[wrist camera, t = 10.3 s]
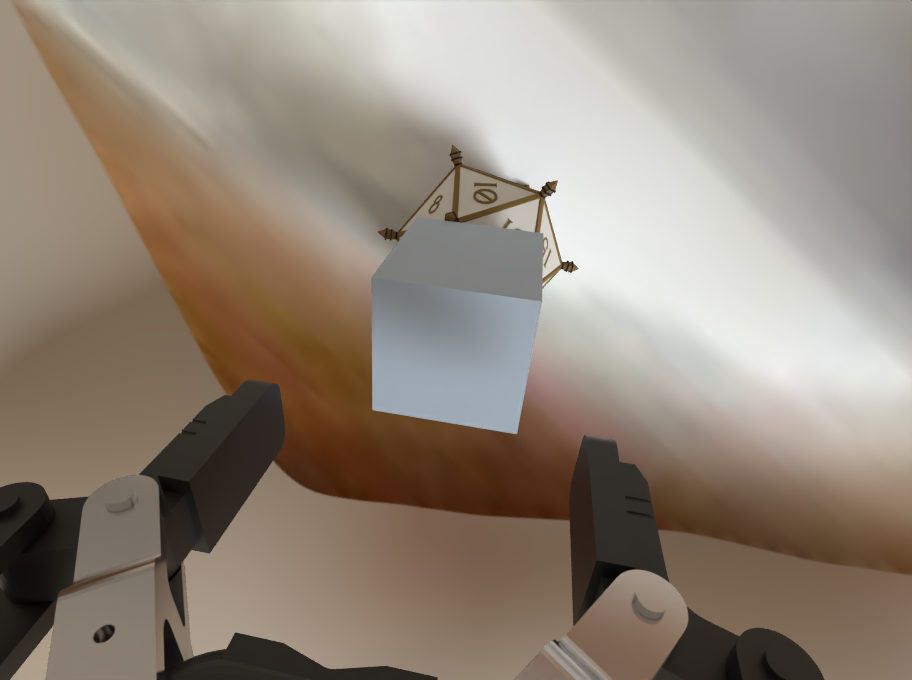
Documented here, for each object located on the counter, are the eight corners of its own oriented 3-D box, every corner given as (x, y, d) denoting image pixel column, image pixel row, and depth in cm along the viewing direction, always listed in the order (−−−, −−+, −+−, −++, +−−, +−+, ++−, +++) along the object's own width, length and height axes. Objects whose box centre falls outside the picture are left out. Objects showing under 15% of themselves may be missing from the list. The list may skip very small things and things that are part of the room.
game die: (484, 236, 32) (394, 357, 28) (434, 110, 26) (310, 243, 22) (620, 256, 27) (534, 409, 23) (598, 106, 21) (475, 278, 17)
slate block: (543, 233, 19) (541, 301, 14) (524, 342, 22) (516, 434, 17) (416, 217, 20) (371, 277, 15) (412, 326, 22) (372, 410, 17)
